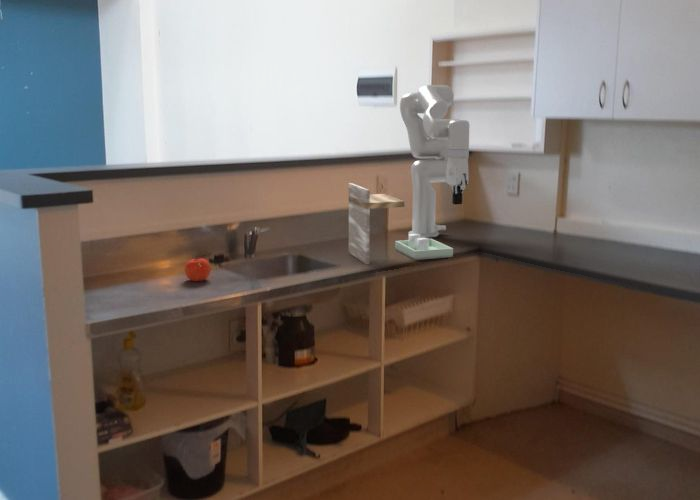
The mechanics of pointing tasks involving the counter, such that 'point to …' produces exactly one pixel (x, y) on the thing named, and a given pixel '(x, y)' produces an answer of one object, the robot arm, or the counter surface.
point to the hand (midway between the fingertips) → (457, 203)
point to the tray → (434, 250)
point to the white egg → (422, 244)
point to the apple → (197, 269)
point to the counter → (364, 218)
